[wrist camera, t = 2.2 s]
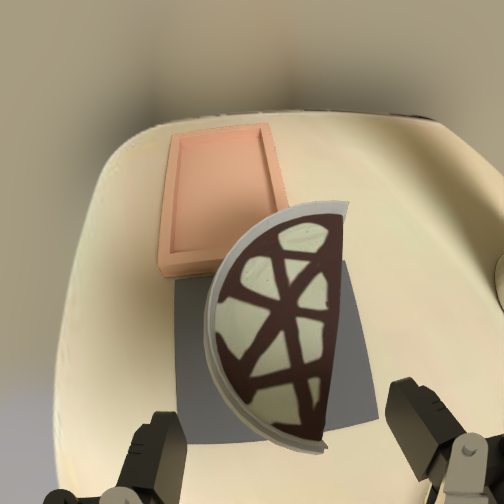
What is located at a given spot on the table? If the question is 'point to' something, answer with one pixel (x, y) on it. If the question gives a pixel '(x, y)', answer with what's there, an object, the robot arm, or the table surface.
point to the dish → (216, 195)
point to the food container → (279, 323)
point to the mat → (210, 400)
